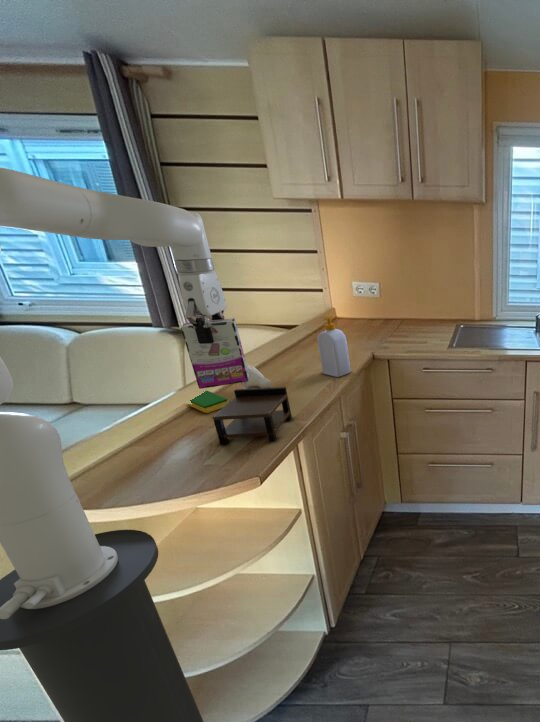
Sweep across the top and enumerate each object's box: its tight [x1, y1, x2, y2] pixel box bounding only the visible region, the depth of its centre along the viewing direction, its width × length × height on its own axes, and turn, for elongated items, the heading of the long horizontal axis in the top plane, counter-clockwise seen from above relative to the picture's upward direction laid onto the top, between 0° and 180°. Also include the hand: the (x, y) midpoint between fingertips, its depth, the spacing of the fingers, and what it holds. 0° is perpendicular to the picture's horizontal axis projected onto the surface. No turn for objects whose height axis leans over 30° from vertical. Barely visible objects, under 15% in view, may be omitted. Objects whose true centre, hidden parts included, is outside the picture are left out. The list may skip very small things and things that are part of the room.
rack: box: [212, 386, 293, 446], centre depth 115 cm, size 14×14×10 cm
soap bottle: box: [317, 315, 352, 378], centre depth 157 cm, size 9×7×23 cm
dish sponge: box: [187, 390, 230, 414], centre depth 133 cm, size 7×14×2 cm, turn 59°
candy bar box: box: [180, 317, 249, 390], centre depth 104 cm, size 11×5×16 cm, turn 118°
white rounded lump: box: [240, 364, 272, 389], centre depth 144 cm, size 6×8×12 cm
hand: (213, 338), depth 103 cm, fingers closed on candy bar box, 6 cm apart
